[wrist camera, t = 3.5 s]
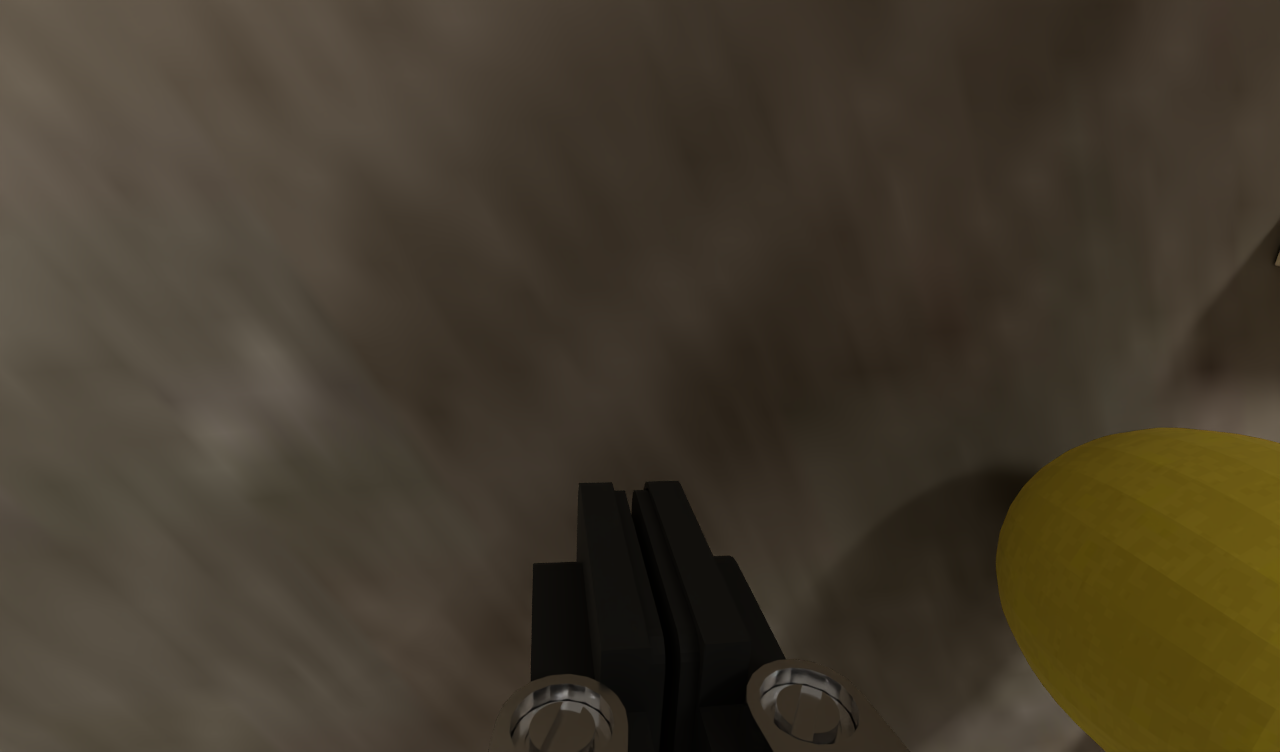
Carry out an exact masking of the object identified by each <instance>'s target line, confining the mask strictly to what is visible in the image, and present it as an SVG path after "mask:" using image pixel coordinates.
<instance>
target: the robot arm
mask: <svg viewBox="0 0 1280 752" xmlns="http://www.w3.org/2000/svg"><path fill="white" fill-rule="evenodd" d="M488 752H910V751H909V749H908V748H907V747H906V746H905V745H904V743H903V742H902V741H901V740H900V738H899V737H898V736H897V735H896V734H895V732H894V731H893V730H892V729H891V727H890V726H889V725H888V724H887V723H886V721H885V720H884V719H883V718H882V716H881V715H880V714H879V713H878V712H877V710H876V709H875V708H874V707H873V705H872V704H871V703H870V702H869V701H868V699H867V698H866V697H865V696H864V694H863V693H862V692H861V691H860V690H859V689H858V688H857V687H856V686H855V685H854V684H853V683H852V682H851V681H850V680H849V679H847V678H846V677H844V676H842V675H841V674H839V673H838V672H836V671H834V670H833V669H831V668H828V667H826V666H823V665H820V664H818V663H815V662H811V661H805V660H799V659H786V658H785V656H784V654H783V652H782V650H781V649H780V647H779V645H778V643H777V641H776V639H775V637H774V635H773V633H772V631H771V629H770V627H769V625H768V623H767V621H766V619H765V617H764V615H763V613H762V611H761V609H760V607H759V605H758V603H757V601H756V599H755V597H754V595H753V594H752V592H751V590H750V588H749V586H748V584H747V582H746V580H745V578H744V576H743V574H742V572H741V570H740V568H739V566H738V564H737V562H736V561H735V559H734V558H733V557H731V556H713V555H712V553H711V550H710V548H709V546H708V544H707V542H706V539H705V537H704V535H703V533H702V531H701V528H700V526H699V524H698V522H697V520H696V517H695V515H694V513H693V511H692V509H691V506H690V504H689V502H688V500H687V498H686V495H685V493H684V491H683V489H682V487H681V484H680V483H679V481H656V482H646V483H645V486H644V490H634V492H633V498H632V515H631V512H630V508H629V504H628V501H627V497H626V493H625V491H614V488H613V484H612V482H607V483H579V490H578V524H577V562H560V563H534V564H533V596H532V644H531V682H530V683H528V684H527V685H525V686H523V687H522V688H520V689H518V690H517V691H516V692H515V693H514V694H513V695H512V696H511V697H510V698H509V699H508V700H507V701H506V702H505V703H504V705H503V707H502V709H501V711H500V713H499V715H498V717H497V719H496V723H495V726H494V730H493V734H492V737H491V741H490V745H489V749H488Z"/></svg>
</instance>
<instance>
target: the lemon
mask: <svg viewBox="0 0 1280 752" xmlns="http://www.w3.org/2000/svg"><path fill="white" fill-rule="evenodd" d="M996 574H997V582H998V590H999V596H1000V601H1001V605H1002V610H1003V612H1004V615H1005V617H1006V619H1007V622H1008V624H1009V627H1010V629H1011V631H1012V633H1013V635H1014V637H1015V639H1016V641H1017V643H1018V645H1019V647H1020V649H1021V651H1022V653H1023V655H1024V656H1025V658H1026V660H1027V662H1028V663H1029V665H1030V667H1031V669H1032V670H1033V671H1034V673H1035V674H1036V676H1037V677H1038V679H1039V680H1040V682H1041V683H1042V685H1043V686H1044V687H1045V688H1046V690H1047V691H1048V692H1049V693H1050V695H1051V696H1052V697H1053V698H1054V700H1055V701H1056V702H1057V703H1058V705H1059V706H1060V707H1061V708H1062V709H1063V710H1064V711H1065V712H1066V713H1067V714H1068V715H1069V716H1070V717H1071V719H1072V720H1073V721H1074V722H1075V723H1076V724H1077V725H1078V726H1079V727H1080V728H1081V729H1082V730H1083V731H1084V732H1086V733H1087V734H1088V735H1089V736H1090V737H1091V738H1092V739H1093V740H1094V741H1095V742H1096V743H1097V744H1098V745H1099V746H1100V747H1101V748H1102V749H1103V750H1104V751H1106V752H1280V443H1277V442H1273V441H1269V440H1265V439H1260V438H1255V437H1250V436H1245V435H1240V434H1233V433H1225V432H1216V431H1207V430H1197V429H1187V428H1152V429H1144V430H1137V431H1130V432H1124V433H1118V434H1112V435H1108V436H1104V437H1101V438H1098V439H1095V440H1092V441H1090V442H1087V443H1085V444H1083V445H1080V446H1078V447H1075V448H1073V449H1071V450H1069V451H1067V452H1065V453H1064V454H1062V455H1060V456H1059V457H1057V458H1056V459H1054V460H1053V461H1052V462H1050V463H1049V464H1047V465H1046V466H1044V467H1043V468H1041V469H1040V470H1039V471H1038V472H1037V473H1036V474H1035V475H1034V476H1033V477H1032V478H1031V479H1030V480H1029V481H1028V482H1027V483H1026V484H1025V485H1024V486H1023V488H1022V489H1021V490H1020V492H1019V493H1018V495H1017V496H1016V498H1015V499H1014V501H1013V502H1012V504H1011V505H1010V508H1009V510H1008V513H1007V515H1006V517H1005V520H1004V522H1003V525H1002V528H1001V531H1000V535H999V541H998V547H997V554H996Z"/></svg>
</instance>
